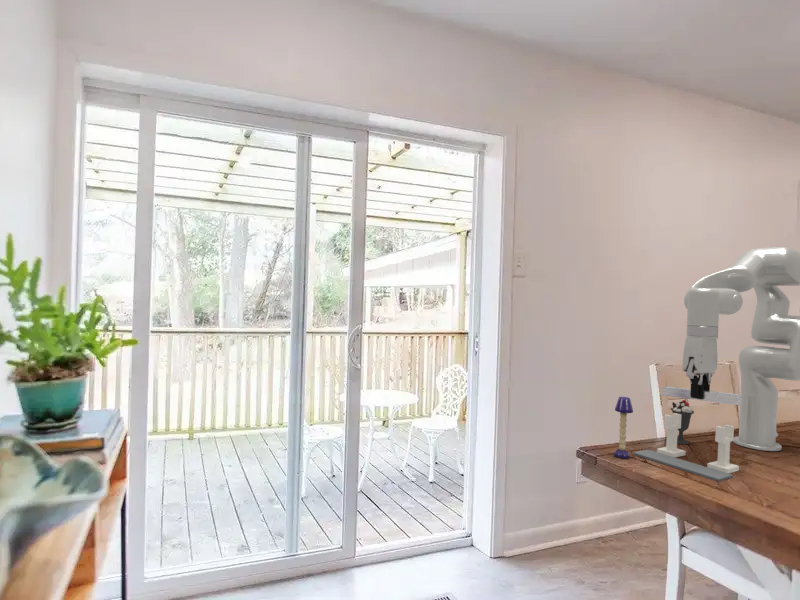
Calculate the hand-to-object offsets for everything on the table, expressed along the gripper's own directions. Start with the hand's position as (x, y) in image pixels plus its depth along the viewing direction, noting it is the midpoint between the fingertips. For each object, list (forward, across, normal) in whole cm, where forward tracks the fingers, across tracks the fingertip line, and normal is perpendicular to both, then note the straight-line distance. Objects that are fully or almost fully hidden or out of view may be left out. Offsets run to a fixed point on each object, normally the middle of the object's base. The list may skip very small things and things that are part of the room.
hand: (699, 397), depth 139 cm
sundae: (+18, -15, -13) cm, 27 cm away
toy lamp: (+18, +17, -12) cm, 27 cm away
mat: (+18, +9, 0) cm, 20 cm away
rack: (+18, +1, 0) cm, 18 cm away
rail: (-1, 0, 0) cm, 1 cm away
